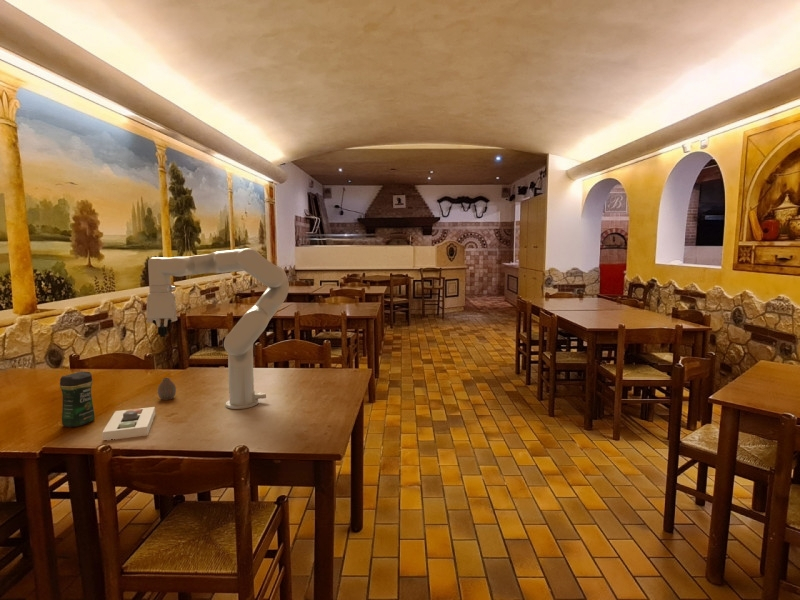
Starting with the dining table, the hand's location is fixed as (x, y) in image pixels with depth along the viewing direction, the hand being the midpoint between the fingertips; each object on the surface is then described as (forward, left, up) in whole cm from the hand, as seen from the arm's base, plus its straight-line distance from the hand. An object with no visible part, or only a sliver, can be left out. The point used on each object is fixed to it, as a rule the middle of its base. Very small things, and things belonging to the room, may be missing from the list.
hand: (162, 336), depth 180 cm
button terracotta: (+10, +9, -28) cm, 32 cm away
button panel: (+10, +16, -29) cm, 35 cm away
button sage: (+10, +23, -28) cm, 38 cm away
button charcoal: (+10, +16, -27) cm, 33 cm away
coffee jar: (+28, +5, -29) cm, 41 cm away
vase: (+1, -15, -29) cm, 33 cm away
